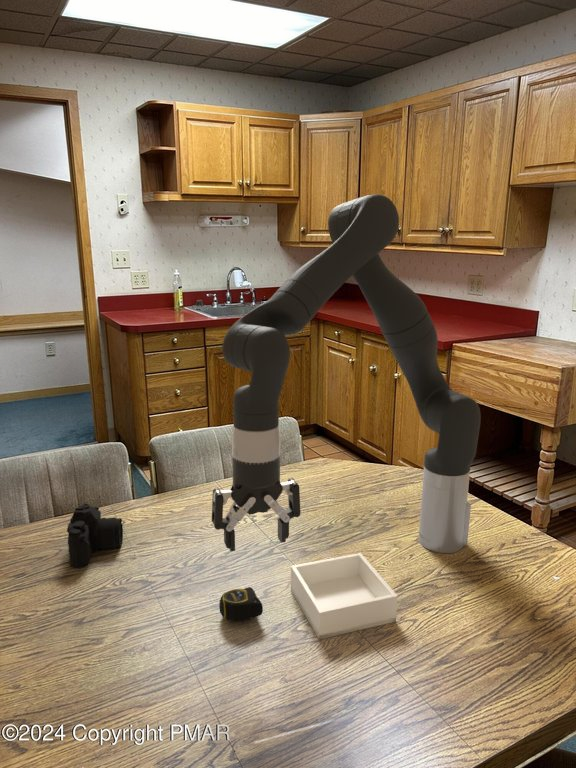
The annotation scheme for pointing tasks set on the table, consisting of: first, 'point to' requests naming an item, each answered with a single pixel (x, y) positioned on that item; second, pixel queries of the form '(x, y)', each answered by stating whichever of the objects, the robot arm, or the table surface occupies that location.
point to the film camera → (91, 534)
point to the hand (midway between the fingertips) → (256, 544)
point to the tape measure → (240, 605)
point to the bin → (342, 595)
